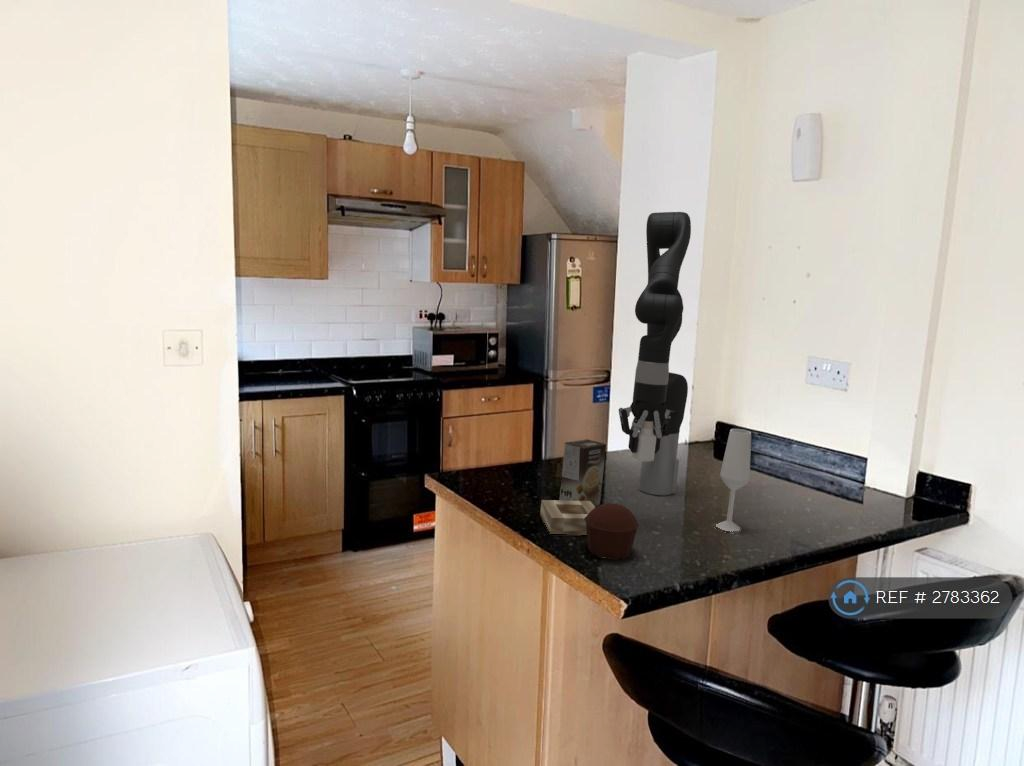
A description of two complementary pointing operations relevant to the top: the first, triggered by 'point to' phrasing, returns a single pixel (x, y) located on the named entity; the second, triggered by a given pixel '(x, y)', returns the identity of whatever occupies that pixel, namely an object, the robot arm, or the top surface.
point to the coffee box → (582, 471)
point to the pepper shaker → (645, 443)
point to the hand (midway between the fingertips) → (643, 452)
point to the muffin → (611, 530)
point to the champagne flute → (735, 470)
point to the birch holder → (565, 516)
